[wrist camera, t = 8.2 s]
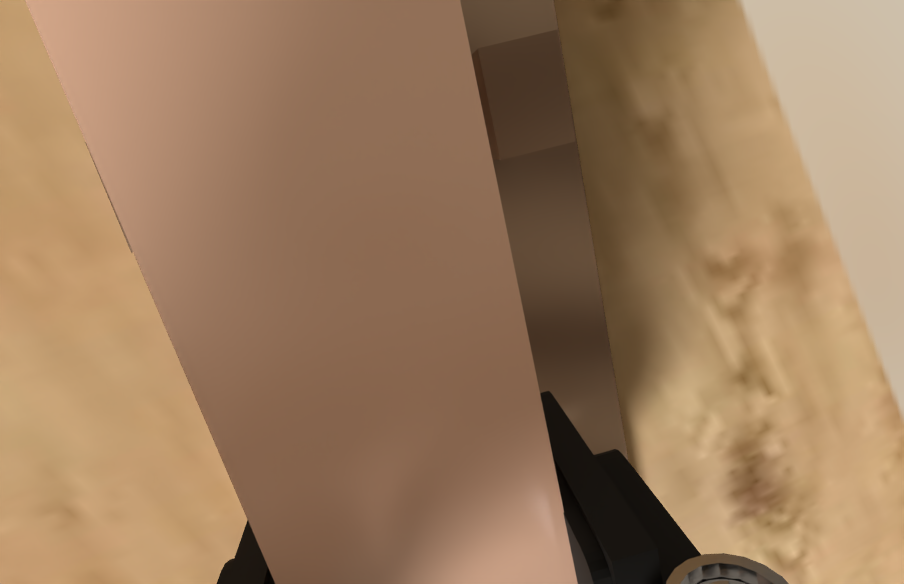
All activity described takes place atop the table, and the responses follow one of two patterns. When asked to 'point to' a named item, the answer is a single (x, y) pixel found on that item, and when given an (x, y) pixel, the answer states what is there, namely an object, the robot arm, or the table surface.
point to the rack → (544, 209)
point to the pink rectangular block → (329, 274)
